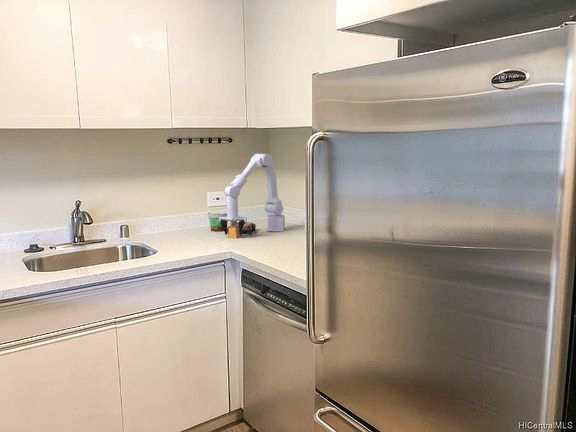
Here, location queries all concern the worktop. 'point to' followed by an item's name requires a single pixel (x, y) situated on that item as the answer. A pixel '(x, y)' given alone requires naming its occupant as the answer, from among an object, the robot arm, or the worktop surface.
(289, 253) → the worktop surface
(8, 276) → the worktop surface
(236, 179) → the robot arm
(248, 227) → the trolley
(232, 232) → the block
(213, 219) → the food container
